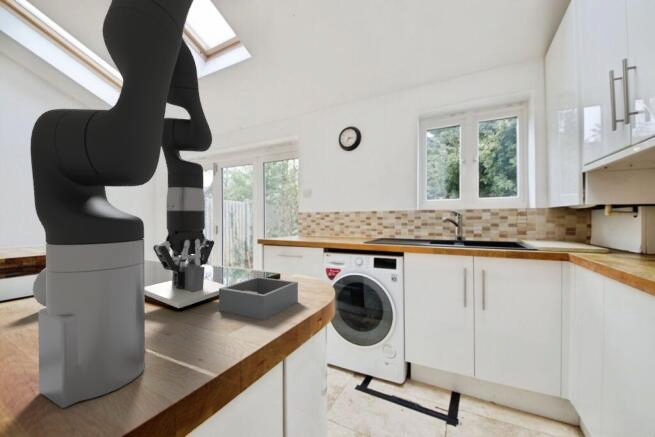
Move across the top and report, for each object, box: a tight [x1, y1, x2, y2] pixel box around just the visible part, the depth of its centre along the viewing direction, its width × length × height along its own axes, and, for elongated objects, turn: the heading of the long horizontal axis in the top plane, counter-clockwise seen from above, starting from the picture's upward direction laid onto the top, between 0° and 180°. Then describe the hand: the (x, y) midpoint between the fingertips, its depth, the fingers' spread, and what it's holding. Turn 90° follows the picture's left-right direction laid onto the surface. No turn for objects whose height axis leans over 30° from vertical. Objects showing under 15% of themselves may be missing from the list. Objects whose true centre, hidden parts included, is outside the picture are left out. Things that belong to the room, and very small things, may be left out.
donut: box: [32, 267, 46, 307], centre depth 60 cm, size 10×4×10 cm, turn 179°
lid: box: [144, 261, 228, 309], centre depth 59 cm, size 13×13×7 cm
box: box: [218, 276, 299, 321], centre depth 59 cm, size 12×12×5 cm
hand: (186, 286), depth 59 cm, fingers closed on lid, 2 cm apart
